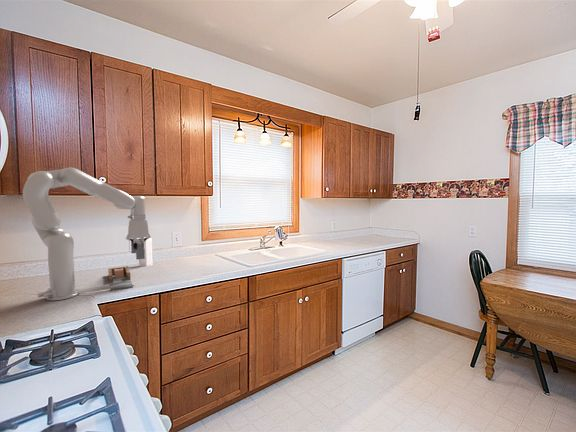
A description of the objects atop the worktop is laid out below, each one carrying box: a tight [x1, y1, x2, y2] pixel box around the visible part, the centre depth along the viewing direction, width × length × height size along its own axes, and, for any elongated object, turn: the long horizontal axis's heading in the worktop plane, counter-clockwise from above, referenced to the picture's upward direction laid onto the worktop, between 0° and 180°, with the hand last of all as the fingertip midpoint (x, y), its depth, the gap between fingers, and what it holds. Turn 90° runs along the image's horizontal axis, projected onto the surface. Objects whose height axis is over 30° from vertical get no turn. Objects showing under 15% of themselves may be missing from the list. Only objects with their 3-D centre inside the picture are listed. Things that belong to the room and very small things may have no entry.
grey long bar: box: [130, 238, 145, 260], centre depth 166 cm, size 22×5×8 cm, turn 33°
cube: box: [114, 268, 124, 279], centre depth 166 cm, size 4×4×4 cm
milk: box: [138, 237, 154, 268], centre depth 194 cm, size 6×6×22 cm
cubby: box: [107, 266, 134, 292], centre depth 160 cm, size 30×10×5 cm, turn 34°
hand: (138, 249), depth 164 cm, fingers closed on grey long bar
